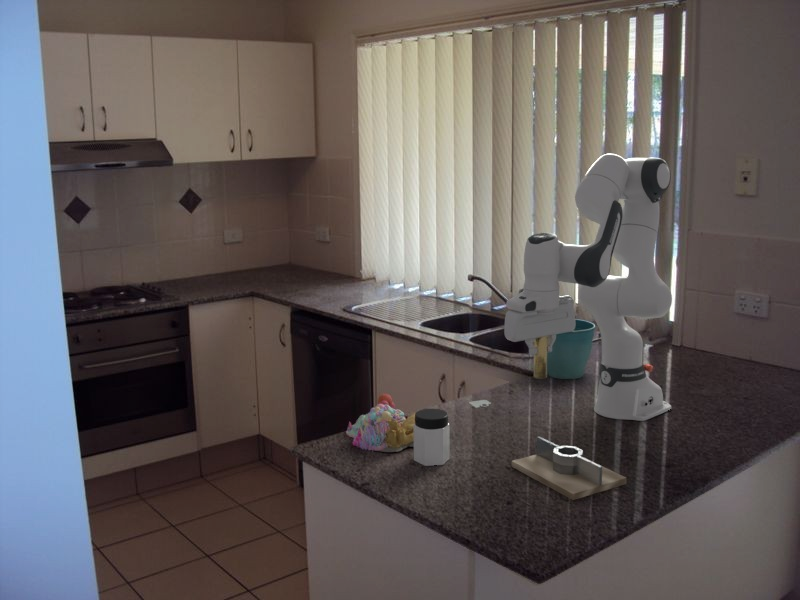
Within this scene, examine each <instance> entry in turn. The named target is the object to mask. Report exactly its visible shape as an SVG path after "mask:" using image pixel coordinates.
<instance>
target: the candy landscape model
mask: <svg viewBox="0 0 800 600" xmlns="http://www.w3.org/2000/svg"><path fill="white" fill-rule="evenodd" d="M416 412H417V411H415V412H413V413H412V415H411V416H408V415H405V413H404V412H403V411H402V410H401V409H398V408H396V404H395V402H393V398H392V396H391V395H390V394H389V393H382V394H380V395H379V396H378V398H377V404H376V406H375V407H371V408H370V411H369V412H367V413H366V414H361V415H359V417H358V419H356V421H355V423H354V424H352V422H351V421H349V422H348V426H347V429H346V431H345V433H346V435H347V436H348V437H350V438H353V441H352V445H353V446H354V447H358V448H360V449H362V451H363V450H367V451H371V452H372V453H374V452H375V451H379V452H383V453H394V452H397V453H398V452H401V451H403V450H404V449H406V448H408V447H413V448H414V431H413V425H414V424H415V413H416Z"/></svg>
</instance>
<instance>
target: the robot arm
mask: <svg viewBox="0 0 800 600" xmlns="http://www.w3.org/2000/svg"><path fill="white" fill-rule="evenodd" d="M671 176H672V175H671V169H670V166H669V165H668V163H667V162H666V160H665V159H662V158H660V157H654V156H653V157H652V156H650V157H631V158H627V159H625V158H623V157H622V156H620V155H618V154H615V153H606V154H603V155H600V157H599V158H597V160H595V161H594V162H593V164H592V165H591V166H590V168H589V169H588V170H587V172H586V173H585V174H584V176H583V177H582V179H581V181H580V183H579V184H578V187H577V188H576V192H575V194H574V195H575V196H574V199H575V206H576V207H577V209H578V211H579V212H580V213H581V214H582V216H584V218H586V219H588V220H589V221H591V222H595V223H596V224H599V227H598V230H597V232H596V233H597V234H596V237H595V240H594V242H592V243H590V244H585V245H582V244H571V243H564V242H562V241H560V240H559V239H558V236H557V234H555V233H551V232H539V233H534V234H532V235H531V236H529V237H527V239H526V242H525V246H524V247H525V248H524V255H523V274H524V283H523V288H522V289H523V291H521V292H519V293H518V294H516V295H514V296H513V297H511V298H509V299H507V300H506V303H505V305H506V308H507V309H508V310H507V312H506V313H505V315H504V316H505V317H504V330H503V332H504V337H505V338H506V339H507V341H511V342H513V343H517V342H523V341H524V343H525V344H526V346H527V347H528V354H529V355H530V356H534V355H537V354H538V352H537V351H538V348H535V346H534V342H535V338H539V337H544V336H547V337H548V339H547V353H548V352H552V345H553V343H554V341H555V339H556V334H560V333H566V332H571V331H573V330H574V329H575V326H576V322H575V319H576V312H575V307H574V306H575V303H574V302H575V301H574V298H573V297H571V296H570V295H563V296H560V283H559V282H562V283H568V284H576V285H579V288H578V300H579V301H578V302H579V303H580V305H581V307H582V308H583V309H584V310H585V311H586V312H588V313H589V315H591V317H592V318H593V320H594V321H595V323H596V326H597V328H598V331H599V333H600V338H601V339H600V340H601V361H600V362H599V382H598V389H597V397H596V399H595V402H594V403H595V404H594V408H593V410H594V411H593V412H594V413H596V414H598V415H599V416H602V417H605V418H609V419H615V420H629V421H630V420H633V421H637V422H638V421H640V422H645V421H647V420H649V419H652V418H655V417H657V416H659V415H661V414H664V413H666V412H668V410H669V411H671V410H672V405H671V404H670V403H669V402H666V401H665V400H664V396H663V395H664V394H663V390H662V388H661V386H660V385H659V384H657V383H655V381H653V380H652V379H651V378H649V377H648V376H647V374H646V371H647V372H649V373H651V372H653V369H654V366H653V365H652V364H649V363H645V364H644V363H643V350H644V349H643V344H644V343H643V339H642V336H641V334H640V333H639V332H638V331H637V330H636V329H634V328H632V327H631V326H629V324H628V322H627V321H626V319H625V317H626V318H634V319H635V318H636V319H644V320H648V319H650V320H651V319H657V318H658V319H659V318H663V317H665V316H666V315H667V313H668V312H669V310H670V309H671V306H672V303H673V295H672V291H671V289H670V288H669V286H668V285H667V283H665V282H664V280H662V279H661V277H660V276H659V274H658V272H657V269H656V267H655V266H656V265H655V251H656V243H657V238H658V231H659V224H660V211H661V210H660V201H661V200H662V198H663V196H664V194H666V192H667V190H668V189H669V187H670V183H671V178H672V177H671ZM619 200H623V203H624V205H623V206H622V204H621V203H620V202H619ZM613 256H614V258H615V260H616V261H617V262H619V264H622V266H624V267H626V268H628V274H627V276H619V275H618V276H617V275H610V271H611V264H612V257H613ZM670 409H671V410H670Z"/></svg>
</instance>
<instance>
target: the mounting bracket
mask: <svg viewBox="0 0 800 600" xmlns="http://www.w3.org/2000/svg"><path fill="white" fill-rule="evenodd" d="M468 404H470V405H471V406H472V407H474V408H480V407H481V408H489V407H490V404H492V402H490V401H488V400H487V399H481V400H473V401H469V402H468Z"/></svg>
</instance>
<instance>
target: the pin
mask: <svg viewBox="0 0 800 600" xmlns="http://www.w3.org/2000/svg"><path fill="white" fill-rule="evenodd" d="M533 344H534V346H535V348H538V351H537V352H538V354H537V355H533V378H535V379H538V380H539V379H540V380H542V379H546V378H547V377H548V374H547V336H544V337H539V338H535V342H533Z"/></svg>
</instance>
